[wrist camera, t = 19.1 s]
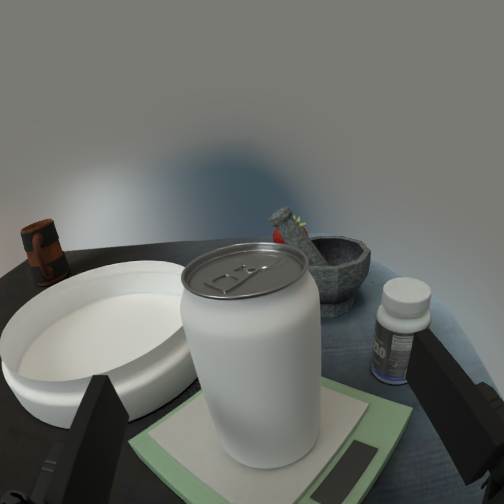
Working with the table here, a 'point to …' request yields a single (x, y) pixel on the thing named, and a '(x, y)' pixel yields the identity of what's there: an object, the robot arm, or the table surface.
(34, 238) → the mug
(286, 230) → the mortar and pestle
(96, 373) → the white round shallow dish
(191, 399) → the kitchen scale
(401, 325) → the pill bottle
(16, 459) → the table surface
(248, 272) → the can
